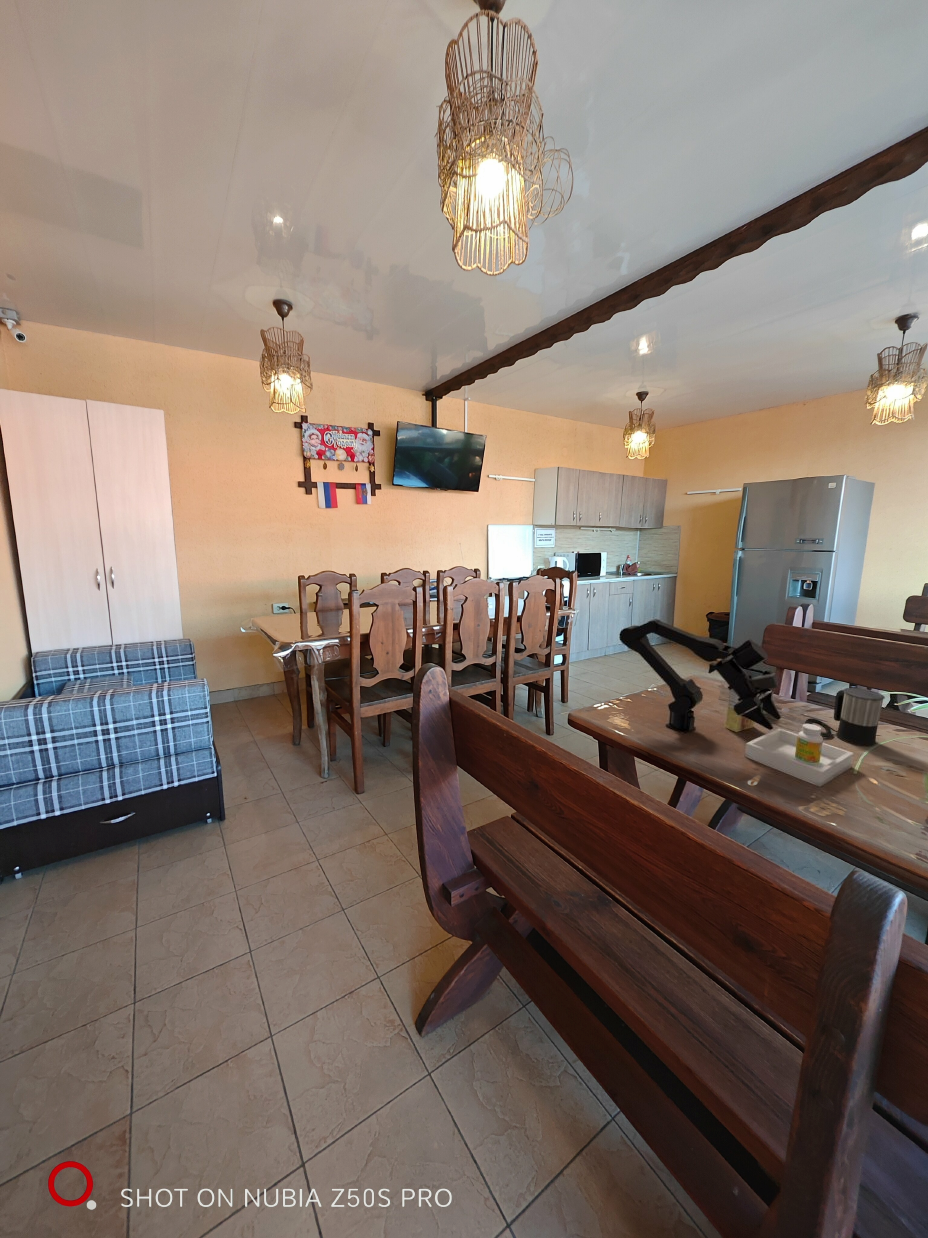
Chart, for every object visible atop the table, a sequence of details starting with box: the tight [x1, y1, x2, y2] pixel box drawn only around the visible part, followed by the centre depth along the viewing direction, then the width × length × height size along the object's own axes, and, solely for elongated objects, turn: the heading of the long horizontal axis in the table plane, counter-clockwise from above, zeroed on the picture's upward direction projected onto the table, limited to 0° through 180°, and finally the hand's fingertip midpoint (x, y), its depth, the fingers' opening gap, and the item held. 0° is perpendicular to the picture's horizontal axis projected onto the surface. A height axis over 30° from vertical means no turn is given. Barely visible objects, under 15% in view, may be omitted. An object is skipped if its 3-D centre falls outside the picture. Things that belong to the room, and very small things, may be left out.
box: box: [744, 727, 855, 788], centre depth 124 cm, size 18×18×4 cm
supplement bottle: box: [795, 723, 824, 765], centre depth 122 cm, size 5×5×10 cm
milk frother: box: [804, 687, 886, 747], centre depth 137 cm, size 14×16×15 cm
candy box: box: [725, 689, 756, 733], centre depth 144 cm, size 9×4×15 cm, turn 116°
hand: (775, 724), depth 127 cm, fingers open, 9 cm apart
